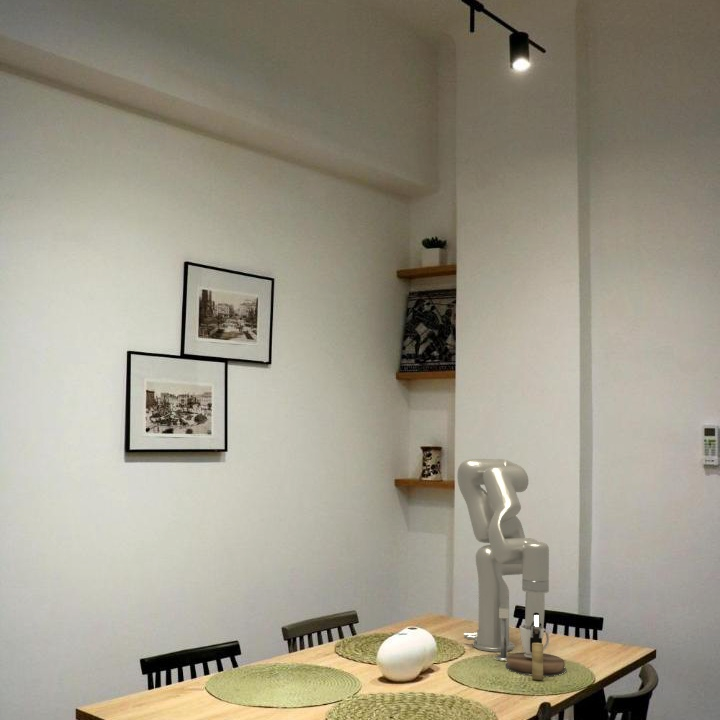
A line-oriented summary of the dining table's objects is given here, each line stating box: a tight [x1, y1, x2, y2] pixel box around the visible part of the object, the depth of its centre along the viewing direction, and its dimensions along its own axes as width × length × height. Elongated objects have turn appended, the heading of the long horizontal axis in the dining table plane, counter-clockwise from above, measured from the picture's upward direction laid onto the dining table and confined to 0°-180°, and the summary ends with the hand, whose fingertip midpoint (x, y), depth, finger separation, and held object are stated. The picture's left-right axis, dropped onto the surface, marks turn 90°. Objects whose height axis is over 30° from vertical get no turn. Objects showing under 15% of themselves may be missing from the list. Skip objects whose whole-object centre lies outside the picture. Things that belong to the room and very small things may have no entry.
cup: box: [519, 624, 550, 658], centre depth 245 cm, size 7×10×8 cm
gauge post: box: [494, 607, 510, 661], centre depth 254 cm, size 5×5×15 cm
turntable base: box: [505, 662, 567, 677], centre depth 244 cm, size 17×17×1 cm
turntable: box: [506, 642, 565, 681], centre depth 241 cm, size 22×16×9 cm
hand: (535, 648), depth 244 cm, fingers closed on cup, 7 cm apart
